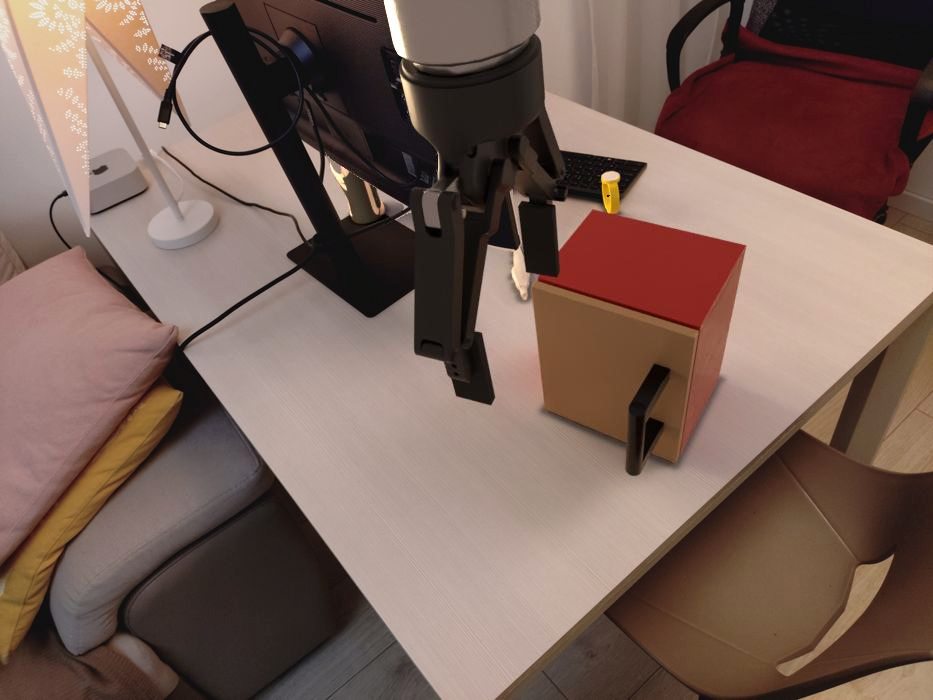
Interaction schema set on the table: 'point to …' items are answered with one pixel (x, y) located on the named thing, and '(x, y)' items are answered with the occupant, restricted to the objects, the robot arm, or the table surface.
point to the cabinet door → (615, 371)
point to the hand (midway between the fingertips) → (512, 329)
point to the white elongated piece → (520, 274)
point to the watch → (611, 191)
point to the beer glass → (358, 195)
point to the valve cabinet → (659, 284)
